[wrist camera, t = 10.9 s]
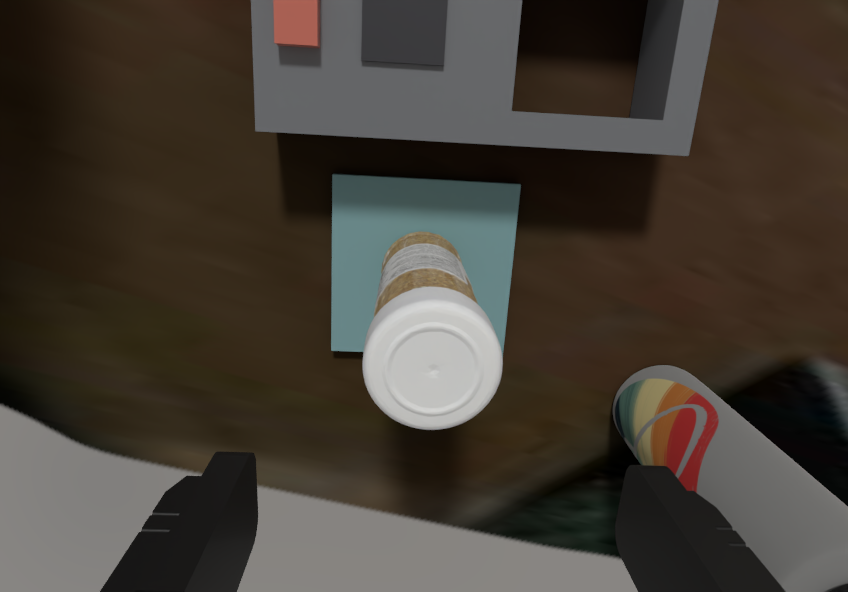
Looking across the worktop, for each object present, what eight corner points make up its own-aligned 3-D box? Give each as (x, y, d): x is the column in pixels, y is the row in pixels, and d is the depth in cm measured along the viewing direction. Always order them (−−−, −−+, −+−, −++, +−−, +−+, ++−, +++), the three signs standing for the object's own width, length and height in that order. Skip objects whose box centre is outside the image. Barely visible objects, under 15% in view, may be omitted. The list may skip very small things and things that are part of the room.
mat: (332, 346, 32) (331, 350, 31) (333, 173, 29) (332, 174, 28) (500, 353, 32) (502, 357, 31) (518, 183, 29) (520, 184, 29)
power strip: (276, 131, 28) (251, 131, 23) (271, -92, 25) (241, -141, 21) (651, 152, 29) (696, 156, 24) (688, -61, 26) (747, -101, 21)
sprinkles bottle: (447, 317, 31) (477, 450, 18) (370, 295, 30) (344, 415, 17) (473, 242, 29) (526, 325, 16) (393, 217, 29) (383, 284, 16)
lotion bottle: (592, 399, 33) (844, 765, 14) (670, 344, 32) (1054, 655, 13) (641, 460, 34) (932, 868, 15) (717, 409, 34) (1128, 776, 14)
